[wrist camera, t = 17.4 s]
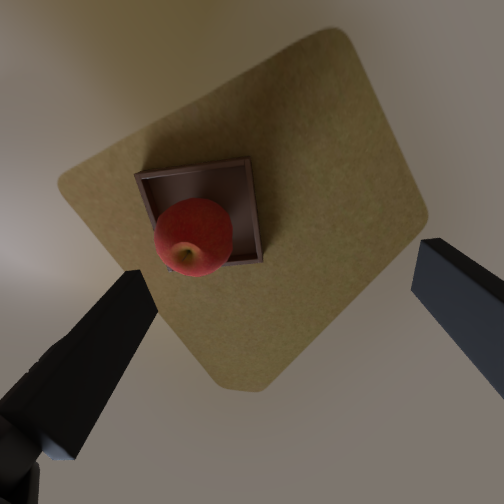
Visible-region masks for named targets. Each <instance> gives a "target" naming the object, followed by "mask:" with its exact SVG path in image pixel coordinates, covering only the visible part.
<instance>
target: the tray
mask: <svg viewBox="0 0 504 504" xmlns="http://www.w3.org/2000/svg"><path fill="white" fill-rule="evenodd" d="M134 177H135V179H136V182H137V185H138V188H139V191H140V193H141V196H142V199H143V202H144V205H145V207H146V210H147V213H148V216H149V219H150V221H151V224H152V227H153V230H155V227H156V224H157V220H158V217H159V216H160V215H161V214H162V213H163V212H164V211H166V210H167V209H168V208H169V207H171V206H172V205H174V204H176V203H177V202H179V201H182V200H186V199H189V198H203V199H209V200H211V201H213V202H216V203H217V204H219V205H220V206H221V207H222V208H223V209H224V210H225V211H226V212H227V213H228V214H229V216H230V219H231V223H232V226H233V235H232V245H233V250H232V252H231V254H230V256H229V258H228V260H227V262H225V263H224V264H223V265H222V266H232V265H243V264H253V263H258V262H259V263H263V251H262V243H261V235H260V227H259V219H258V211H257V203H256V196H255V188H254V180H253V172H252V164H251V156H246V157H239V158H232V159H224V160H217V161H210V162H203V163H195V164H188V165H181V166H174V167H166V168H159V169H152V170H145V171H140V172H138V173H135V174H134ZM166 266H167V265H166ZM222 266H221V267H222ZM167 269H168V271H169V272H170V271H174V270H173V269H172V268H170V267H169V266H167Z"/></svg>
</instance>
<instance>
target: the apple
mask: <svg viewBox="0 0 504 504" xmlns="http://www.w3.org/2000/svg"><path fill="white" fill-rule="evenodd" d="M232 235H233V226H232V223H231V219H230V216H229V214H228V213H227V212H226V211H225V210H224V209H223V208H222V207H221V206H220V205H219V204H217V203H216V202H213V201H211V200H209V199H203V198H189V199H186V200H182V201H179V202H177V203H176V204H174V205H172V206H171V207H169V208H168V209H167V210H166V211H164V212H163V213H162V214H161V215H160V216H159V217H158V220H157V224H156V227H155V230H154V242H155V246H156V251H157V253H158V255H159V256H160V258H161V259H162V261H163V262H164V263H165V264H166V265H167V266H169V267H170V268H172V269H173V270H174V271H177V272H179V273H181V274H184V275H187V276H196V277H200V276H204V275H207V274H211V273H212V272H214V271H215V270H217V269H218V268H219V267H221V266H222V265H223V264H224V263H225V262H227V260H228V258H229V256H230V254H231V252H232V250H233V245H232Z"/></svg>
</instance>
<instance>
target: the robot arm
mask: <svg viewBox="0 0 504 504" xmlns="http://www.w3.org/2000/svg"><path fill="white" fill-rule="evenodd" d="M411 291H412V292H413V293H414V294H415V295H416V297H417V298H418V299H419V300H420V301H421V303H422V304H423V305H424V306H425V307H426V309H427V310H428V311H429V312H430V313H431V314H432V316H433V317H434V318H435V319H436V320H437V321H438V323H439V324H440V325H441V326H442V327H443V328H444V330H445V331H446V332H447V333H448V334H449V335H450V337H451V338H452V339H453V340H454V341H455V342H456V344H457V345H458V346H459V347H460V348H461V350H462V351H463V352H464V353H465V354H466V356H468V358H469V359H470V360H471V361H472V363H473V364H474V365H475V366H476V367H477V368H478V370H480V372H481V373H482V374H483V375H484V376H485V378H486V379H487V380H488V381H489V382H490V384H491V385H492V386H493V387H494V388H495V390H496V391H497V392H498V393H499V394H500V395H501V397H502V398H503V399H504V281H503V280H501V279H500V278H498V277H497V276H495V275H494V274H493V273H491V272H490V271H488V270H487V269H485V268H484V267H482V266H481V265H479V264H478V263H476V262H475V261H473V260H472V259H470V258H469V257H468V256H466V255H464V254H463V253H462V252H460V251H459V250H457V249H456V248H454V247H453V246H451V245H450V244H448V243H447V242H445V241H444V240H442V239H441V238H433V239H424V240H421V242H420V247H419V253H418V257H417V263H416V267H415V272H414V277H413V282H412V287H411ZM157 313H158V309H157V307H156V305H155V303H154V300H153V298H152V296H151V293H150V291H149V289H148V287H147V284H146V282H145V280H144V278H143V275H142V273H141V271H140V270H131V271H125V272H124V273H123V275H122V276H121V277H120V278H119V279H118V280H117V281H116V282H115V283H114V284H113V285H112V287H110V289H109V290H108V291H107V292H106V293H105V294H104V295H103V296H102V297H101V298H100V300H99V301H98V302H97V303H96V304H95V305H94V306H93V307H92V308H91V309H90V310H89V311H88V313H86V315H85V316H84V317H83V318H82V319H81V320H80V321H79V322H78V323H77V324H76V326H75V327H73V329H72V330H71V331H70V332H69V333H68V334H67V335H66V336H64V337H63V338H62V339H61V340H59V341H58V342H56V343H55V344H54V345H52V346H51V347H50V348H49V349H48V350H47V351H46V352H45V353H44V354H43V355H42V356H41V357H40V359H39V361H38V362H36V363H35V364H34V365H33V366H32V367H31V368H30V369H29V372H28V373H25V374H24V375H23V376H22V378H21V379H20V380H19V381H18V382H17V383H16V384H15V385H14V386H13V387H12V388H11V389H10V390H9V391H8V392H7V393H6V394H5V395H4V397H3V398H2V399H1V400H0V504H38V494H39V476H40V469H39V464H38V463H37V462H36V459H37V458H38V457H39V455H40V454H41V452H42V451H43V452H44V453H45V454H47V455H48V456H49V457H50V458H51V459H52V460H75V459H76V457H77V455H78V453H79V452H80V450H81V448H82V446H83V445H84V443H85V441H86V439H87V437H88V435H89V434H90V432H91V430H92V428H93V427H94V425H95V423H96V421H97V419H98V418H99V416H100V414H101V412H102V411H103V409H104V407H105V405H106V404H107V402H108V400H109V398H110V396H111V395H112V393H113V391H114V389H115V388H116V386H117V384H118V382H119V380H120V379H121V377H122V375H123V373H124V371H125V370H126V368H127V366H128V364H129V363H130V360H131V359H132V357H133V355H134V354H135V352H136V350H137V348H138V346H139V345H140V343H141V341H142V339H143V338H144V336H145V334H146V332H147V330H148V329H149V327H150V325H151V323H152V322H153V320H154V318H155V316H156V314H157Z"/></svg>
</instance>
